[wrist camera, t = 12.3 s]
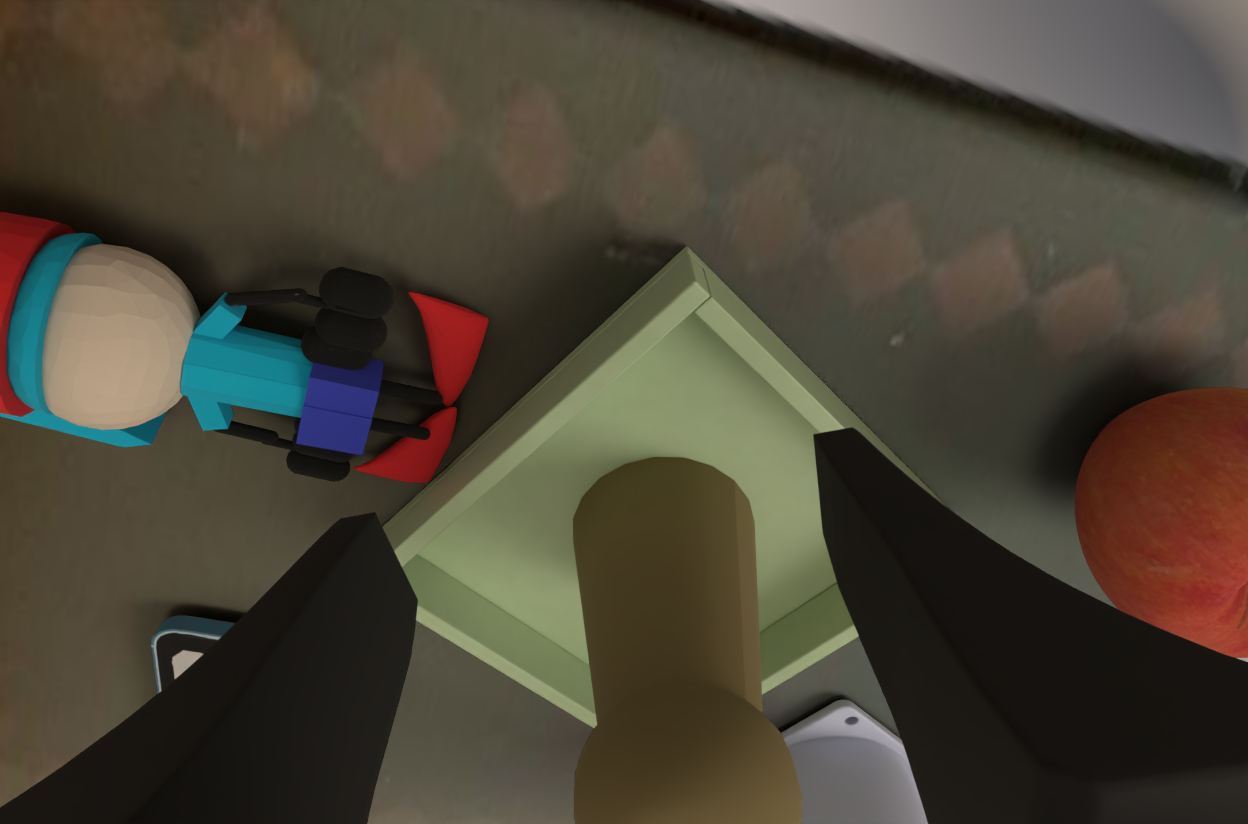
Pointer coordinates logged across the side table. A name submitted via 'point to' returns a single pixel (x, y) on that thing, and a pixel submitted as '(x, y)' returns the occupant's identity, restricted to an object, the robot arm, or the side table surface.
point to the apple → (1173, 515)
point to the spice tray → (616, 435)
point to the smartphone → (182, 645)
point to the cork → (675, 654)
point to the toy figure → (212, 355)
